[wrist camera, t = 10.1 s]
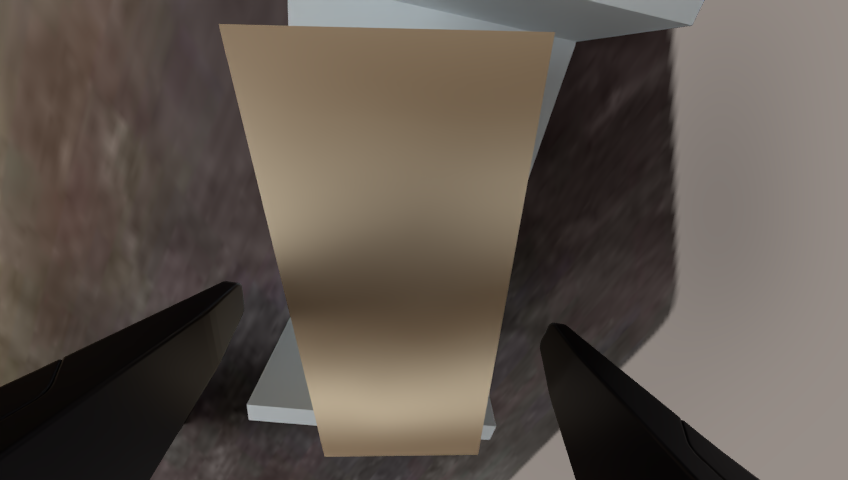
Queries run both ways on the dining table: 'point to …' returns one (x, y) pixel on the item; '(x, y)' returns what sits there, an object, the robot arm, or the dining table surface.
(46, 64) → the dining table surface
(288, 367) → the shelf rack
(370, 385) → the shelf board
